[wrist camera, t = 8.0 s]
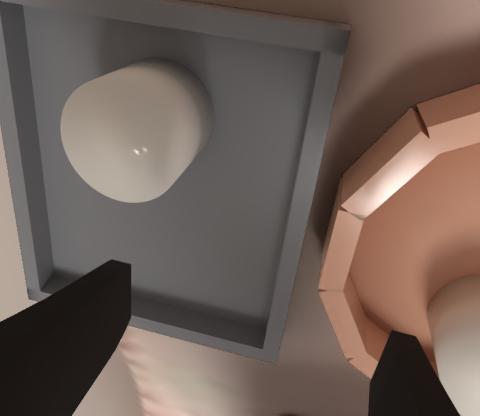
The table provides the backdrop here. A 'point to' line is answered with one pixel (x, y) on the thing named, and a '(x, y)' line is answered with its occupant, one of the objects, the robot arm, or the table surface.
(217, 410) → the table surface
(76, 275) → the parts tray
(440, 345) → the white rounded piece
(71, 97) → the white rounded piece
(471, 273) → the bowl
